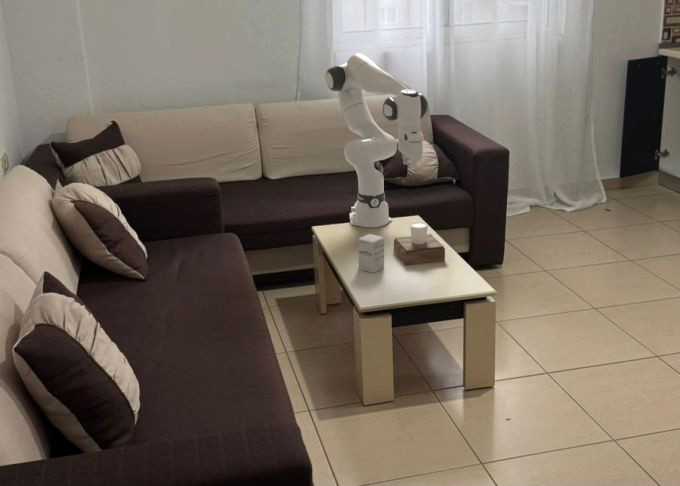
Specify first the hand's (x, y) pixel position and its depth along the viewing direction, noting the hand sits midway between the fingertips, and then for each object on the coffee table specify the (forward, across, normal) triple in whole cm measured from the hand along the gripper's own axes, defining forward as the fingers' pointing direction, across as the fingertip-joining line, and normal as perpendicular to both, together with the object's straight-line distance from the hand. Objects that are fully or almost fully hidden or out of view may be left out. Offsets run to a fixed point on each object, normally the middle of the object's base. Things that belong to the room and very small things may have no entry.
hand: (409, 167), depth 340 cm
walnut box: (+34, +10, +1) cm, 36 cm away
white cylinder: (+28, +10, +1) cm, 30 cm away
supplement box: (+34, +18, -21) cm, 44 cm away
